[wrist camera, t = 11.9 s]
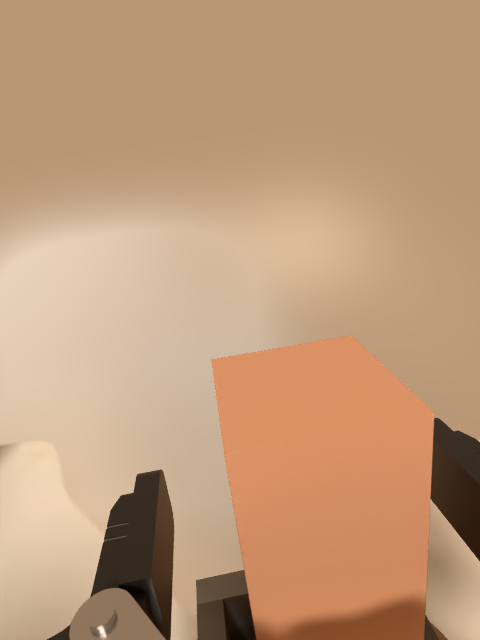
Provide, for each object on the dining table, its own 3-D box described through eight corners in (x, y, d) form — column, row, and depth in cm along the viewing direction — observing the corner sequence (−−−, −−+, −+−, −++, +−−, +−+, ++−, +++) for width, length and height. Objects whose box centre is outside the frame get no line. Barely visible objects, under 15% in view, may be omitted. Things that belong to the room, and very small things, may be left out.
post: (290, 833, 12) (223, 452, 7) (265, 678, 16) (211, 359, 11) (416, 800, 12) (434, 412, 7) (362, 655, 16) (351, 335, 11)
